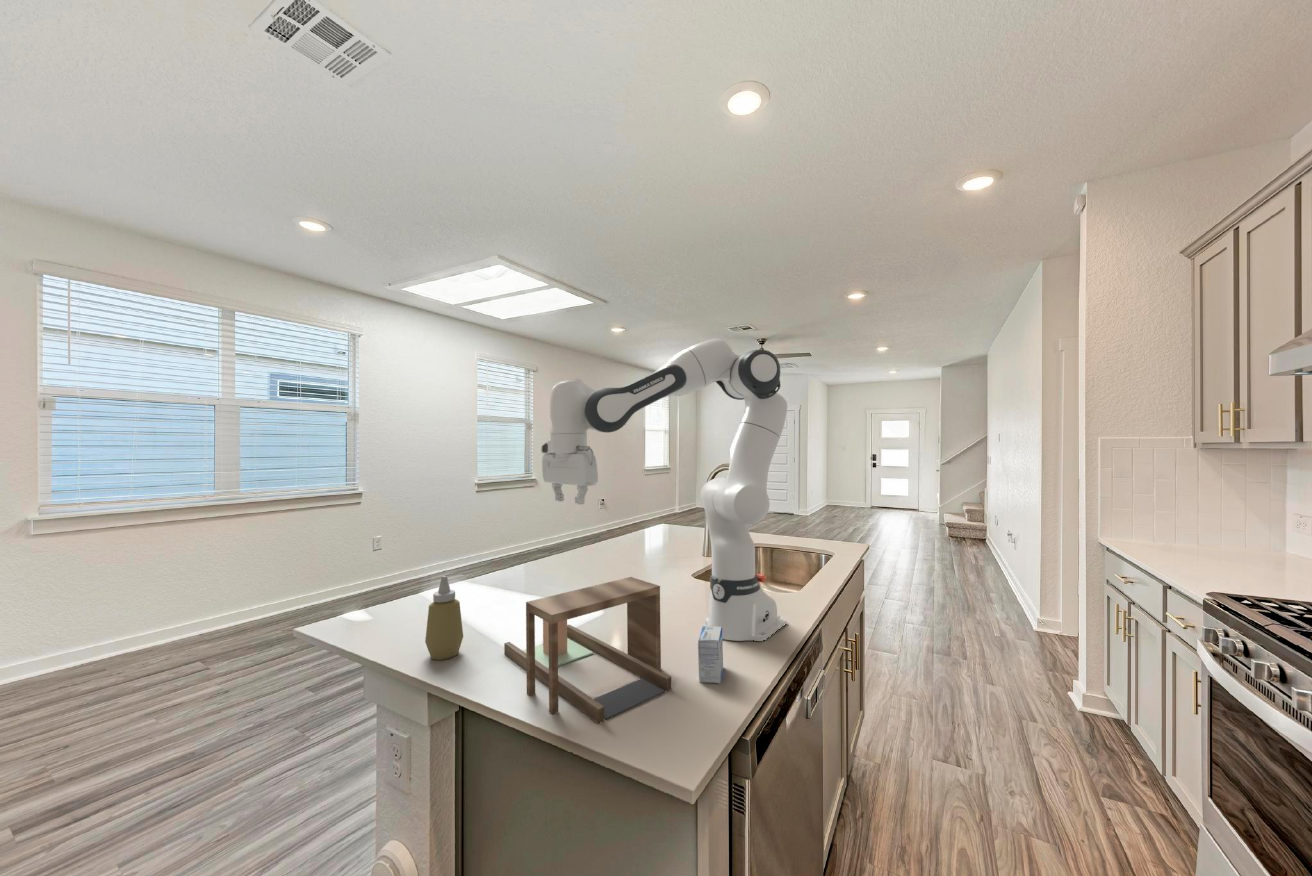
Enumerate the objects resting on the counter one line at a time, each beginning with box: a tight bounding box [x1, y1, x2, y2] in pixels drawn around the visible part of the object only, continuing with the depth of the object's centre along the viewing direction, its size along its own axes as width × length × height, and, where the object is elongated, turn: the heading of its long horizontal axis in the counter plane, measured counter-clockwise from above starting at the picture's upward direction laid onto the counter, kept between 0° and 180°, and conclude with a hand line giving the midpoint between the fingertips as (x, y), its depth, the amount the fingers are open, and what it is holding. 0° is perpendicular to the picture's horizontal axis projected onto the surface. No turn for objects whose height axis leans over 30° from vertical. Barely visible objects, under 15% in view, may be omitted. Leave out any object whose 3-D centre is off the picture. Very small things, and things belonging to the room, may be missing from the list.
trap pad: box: [593, 677, 666, 721], centre depth 92 cm, size 14×7×1 cm, turn 131°
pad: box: [522, 637, 594, 668], centre depth 112 cm, size 13×12×1 cm
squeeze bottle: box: [424, 575, 464, 661], centre depth 112 cm, size 8×8×18 cm
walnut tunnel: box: [503, 576, 672, 724], centre depth 103 cm, size 26×38×18 cm
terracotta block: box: [542, 619, 568, 656], centre depth 112 cm, size 4×4×8 cm
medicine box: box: [697, 625, 724, 684], centre depth 101 cm, size 8×4×9 cm, turn 168°
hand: (569, 502), depth 118 cm, fingers open, 8 cm apart
